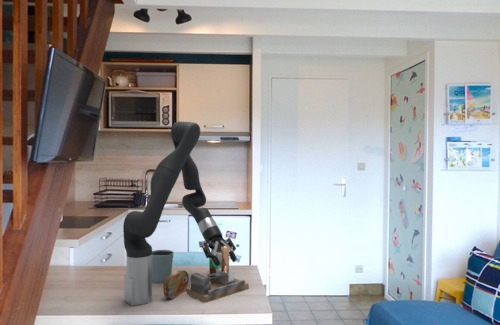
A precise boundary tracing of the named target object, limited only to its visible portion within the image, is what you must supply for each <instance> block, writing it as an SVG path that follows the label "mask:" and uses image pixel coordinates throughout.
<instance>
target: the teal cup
mask: <svg viewBox="0 0 500 325" xmlns="http://www.w3.org/2000/svg"><path fill="white" fill-rule="evenodd" d="M173 258H174V251H173V250H170V249H157V250H152V283H154V284H164V281H165V279H166V278H167V277H168V276H170V275H172V271H173V262H174V261H173V260H174V259H173Z"/></svg>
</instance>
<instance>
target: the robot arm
mask: <svg viewBox="0 0 500 325" xmlns="http://www.w3.org/2000/svg"><path fill="white" fill-rule="evenodd" d="M170 133H171V134H170V135H171V139H172V144H173V146H174V150H172V152H170V153H169V154H168V155H166V156H165V157H164V158H163V159H162V160H161V161H160V162H159V163H158V164H157V166H156V168H155V170H154V172H153V174H152V176H151V179H150V196H149V200H148V202H147V204H146V206H145V208H144V209H143V211H138V210H133V211H130V212H129V213H127V214H126V216H125V217H124V220H123V225H122V226H123V228H122V230H123V231H122V232H123V246H124V250H125V252H126V274H125V275H124V277H123V278H124V280H123V281H124V282H123V283H124V288H123V291H124V292H123V293H124V295H123V296H124V298H123V299H124V300H123V301H124V302H126V303H127V304H129V306H137V305H145V304H148V303H150V302H151V301H152V300H153V282H152V251H153V248H152V245H151V244H150V243H149V242H148V241H147V239H146V238H150V237H151V236H152V235H153V234H154V232H155V231H156V230H157V227H158V225H159V222H160V219H161V217H162V214H163V212H164V208H165V205H166V203H167V202H168V199H169V197H170V195H171V192H172V190H173V189H174V187H175V184H176V183H177V180H178V178H179V176H180V174H182V182H183V186H184V187H183V188H184V189H185V190H187V191H195V192H191V193H188V194H185V195H184V196H182V198H181V203H182V206H183V208H184V209H185V210H186V212H188V213H189V214H190V216H192V218H193V219H194V220H195V222H196V225H197V227H198V229H199V231H200V233H201V235H202V237H203V239H204V241H205V242H203V244H202V246H201V248H202V251H203V253H204V256H205V257H206V259H209V258H211V259H212V260H213V262H214V264H215V265H216V266H219V265H220V261H219V259H218V257H217V255H216V252H219V251H221V246H224V245H227V246H229V259H230V260H231V261H232V262H233V263H235V262H236V261H237V256H236V254H235V251H236V250H237V248H236V245H235V244H234V242H233V241H232V239H231V238H230V237H228V238H227V239H225V238H223V233H222V231H221V230H220V228H219V226H218V225H217V222H216V221H215V219H214V218H213V216H212V213H211V212H210V210H209V209H208V208H206V207H203V206H205V205H206V203H207V196H206V194H205V192H204V191H203V187H202V185H201V182H200V180H201V179H200V174H199V169H198V165H196V162H195V161H194V159H193V158H192V156H191V153H192V151H193V150H194V148H195V146H196V145H197V143H198V141H199V138H200V135H201V127H200V125H199V124H198V123H197V122H191V121H175V122H174V123H173V124H172V126H171V129H170ZM215 255H216V256H215Z"/></svg>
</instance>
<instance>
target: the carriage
mask: <svg viewBox="0 0 500 325" xmlns="http://www.w3.org/2000/svg"><path fill="white" fill-rule="evenodd" d="M229 251H230V250H229V246H227V245H224V246H221V268H219V269H216V281H217V282H219V283H221V284H224V285H229V284H232V283H234V278H235V271H232V270H230V256H229V255H230V254H229Z"/></svg>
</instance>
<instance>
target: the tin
mask: <svg viewBox="0 0 500 325" xmlns="http://www.w3.org/2000/svg"><path fill="white" fill-rule="evenodd" d="M189 279H190V278H189V274H188V272H187V271H186V270H181V269H179V270H176V272H174V273H171V275H170V276H168V277H167V278H166V279H165V281H164V283H163V284H162V285H163V286H162V288H163V295H164V297H166V298H168V299H173V300H174V299H175V298H177V297H178V296H180V295H181V294H182V293H184V292H185V291H187V288H188V286H189V281H190V280H189Z"/></svg>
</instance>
